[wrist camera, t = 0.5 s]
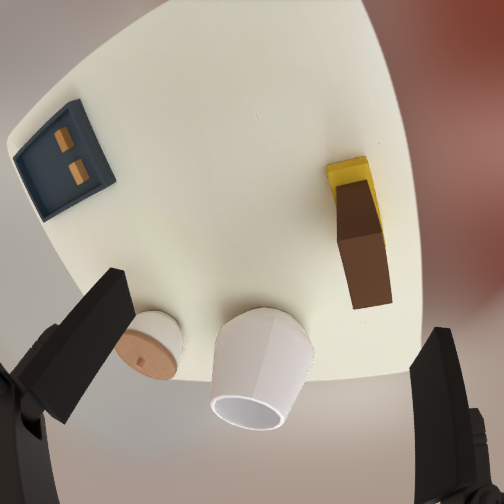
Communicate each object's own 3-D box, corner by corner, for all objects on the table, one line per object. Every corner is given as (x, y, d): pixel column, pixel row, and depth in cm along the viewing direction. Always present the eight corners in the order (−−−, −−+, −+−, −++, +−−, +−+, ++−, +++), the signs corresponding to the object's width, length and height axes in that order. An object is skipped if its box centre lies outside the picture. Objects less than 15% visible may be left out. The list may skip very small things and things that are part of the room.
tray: (79, 98, 30) (68, 101, 28) (116, 181, 35) (107, 187, 34) (21, 153, 36) (12, 157, 35) (51, 216, 42) (43, 222, 40)
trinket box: (196, 352, 50) (176, 395, 43) (142, 336, 52) (118, 375, 44) (190, 308, 44) (163, 355, 37) (129, 292, 46) (98, 333, 38)
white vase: (221, 345, 47) (191, 419, 36) (229, 283, 40) (189, 368, 28) (302, 367, 46) (288, 445, 35) (329, 310, 38) (321, 403, 27)
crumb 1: (66, 126, 32) (59, 128, 31) (74, 145, 33) (67, 148, 32) (61, 130, 32) (53, 133, 31) (69, 149, 34) (62, 152, 32)
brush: (326, 164, 29) (323, 222, 18) (365, 155, 27) (386, 208, 17) (347, 242, 33) (350, 324, 22) (382, 235, 31) (400, 316, 21)
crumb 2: (80, 158, 34) (73, 162, 33) (90, 177, 35) (83, 181, 34) (75, 162, 34) (68, 166, 33) (84, 181, 36) (77, 185, 35)
